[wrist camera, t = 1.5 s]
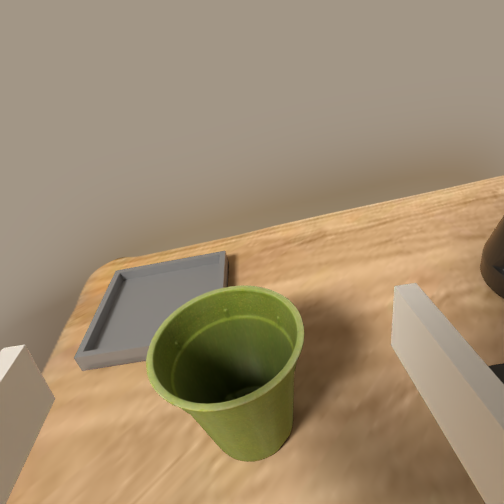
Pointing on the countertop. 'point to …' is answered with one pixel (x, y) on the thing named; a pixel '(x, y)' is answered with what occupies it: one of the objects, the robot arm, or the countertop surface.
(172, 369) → the plant pot
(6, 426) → the robot arm
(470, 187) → the countertop surface
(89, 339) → the tray
